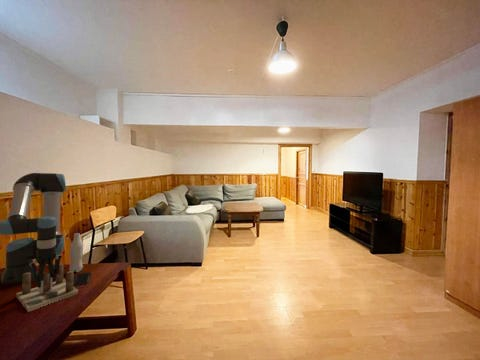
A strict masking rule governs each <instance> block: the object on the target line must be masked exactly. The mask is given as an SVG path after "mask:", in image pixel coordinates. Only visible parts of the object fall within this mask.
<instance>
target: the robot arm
mask: <svg viewBox="0 0 480 360" xmlns="http://www.w3.org/2000/svg"><path fill="white" fill-rule="evenodd" d="M66 191H67V185H66V178H65V175H64V174H62V173H56V172H55V173H53V172H52V173H51V172H50V173H49V172H47V173H46V172H44V173H43V172H31V173H28V174H24V175H22V176H21V177H19V178H18V179H17V180H16V181H15V182H14V183H13V187H12V192H13V195H12V199H11V203H10V208H9V211H8V215H7V218H6V219H3V220H1V221H0V235H1V236H7V235H9V236H11V235H21V234H31V233H36V234H37V235H36V237H37V238H36V239H35V238H34V237H23V238H17V239H14V240H12V241H10V242H8V243H7V244H6V248H5V269H4V270H3V273H2V275H1V278H0V283H1V284H3V285H14V284H20V283H22V275H23V274H24V273H31V282H36V287H38V288H39V290H38V292H39V293H41V294H42V293H43V280H42V276H43V274H44V271H45V267H46V266H47V269H48V273H50V286H49V290H52V283H53V282H55V278H56V274H58V273H59V266H60V264H61V259H62V254H63V251H64V245H65V241H66V240H65V239H66V237H65V236H63V233H62V232H61V231H60V226H61V225H60V223H61V222H60V221H61V196H62V195H63V194H64V192H66ZM35 192H40V195H42V196H43V198H42V199H43V202H42V216H41V217H33V218H28V217H29V210H30V205H31V200H32V194H33V193H35ZM37 263H38V264H37ZM37 265H38V270H37Z"/></svg>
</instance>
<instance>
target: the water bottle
mask: <svg viewBox="0 0 480 360" xmlns="http://www.w3.org/2000/svg"><path fill="white" fill-rule="evenodd" d="M83 256H84V242H83V241H82V240H81V234H80V232H75V233H73V240H72V241H71V244H70V245H69V258H70V263H69V267H68V269H69V271H74V272H76V273H80V271H82V269H83V268H84V265H83V263H82V262H83Z"/></svg>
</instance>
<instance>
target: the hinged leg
mask: <svg viewBox="0 0 480 360" xmlns="http://www.w3.org/2000/svg"><path fill="white" fill-rule="evenodd" d="M42 280H43V293H42V294H45V295H48V297H49V298H52V297H55V296H57V295H58V292H57V291H50V290H49V286H50V273H49V272H43V276H42Z"/></svg>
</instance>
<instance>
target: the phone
mask: <svg viewBox="0 0 480 360" xmlns="http://www.w3.org/2000/svg"><path fill="white" fill-rule="evenodd" d="M91 276H92V272H84V273H77V274H75V278H74V279H73V287H77V286H76V285H78V286H81V284H84V285H88V284H89V283H90V281H89V280H90V279H91ZM87 283H88V284H87Z"/></svg>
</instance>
